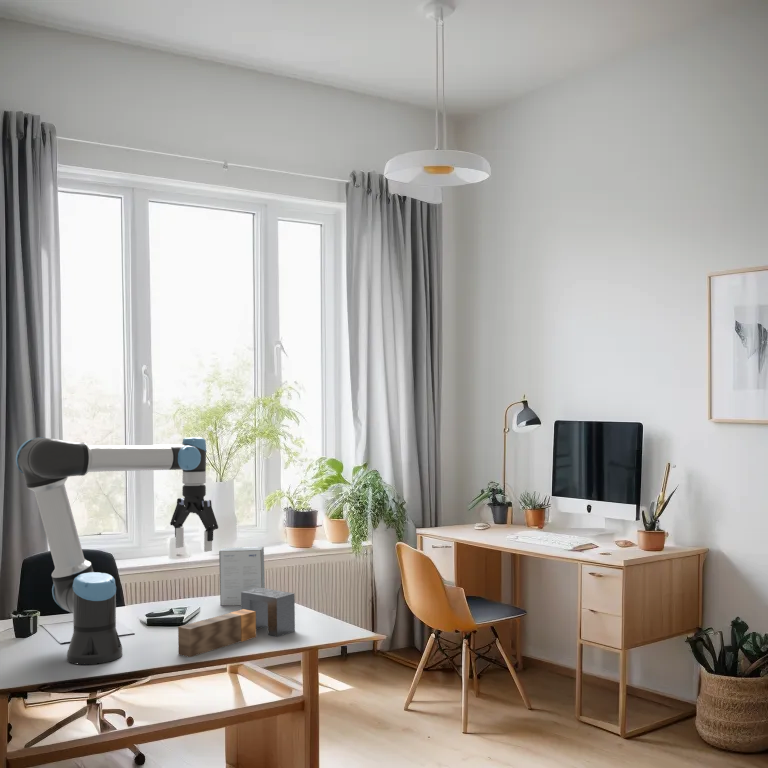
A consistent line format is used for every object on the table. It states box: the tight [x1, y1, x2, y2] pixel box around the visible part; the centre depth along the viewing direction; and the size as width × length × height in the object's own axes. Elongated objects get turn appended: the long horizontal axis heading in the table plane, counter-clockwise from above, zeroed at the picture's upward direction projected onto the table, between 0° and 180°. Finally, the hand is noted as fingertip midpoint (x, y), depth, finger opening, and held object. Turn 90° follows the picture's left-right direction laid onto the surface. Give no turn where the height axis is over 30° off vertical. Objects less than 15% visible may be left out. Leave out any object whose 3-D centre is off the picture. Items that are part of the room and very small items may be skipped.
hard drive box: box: [218, 546, 266, 607], centre depth 318 cm, size 16×8×20 cm, turn 89°
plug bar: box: [177, 609, 257, 658], centre depth 262 cm, size 26×6×8 cm, turn 143°
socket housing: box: [240, 587, 296, 638], centre depth 279 cm, size 8×16×12 cm, turn 53°
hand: (193, 549), depth 286 cm, fingers open, 13 cm apart
